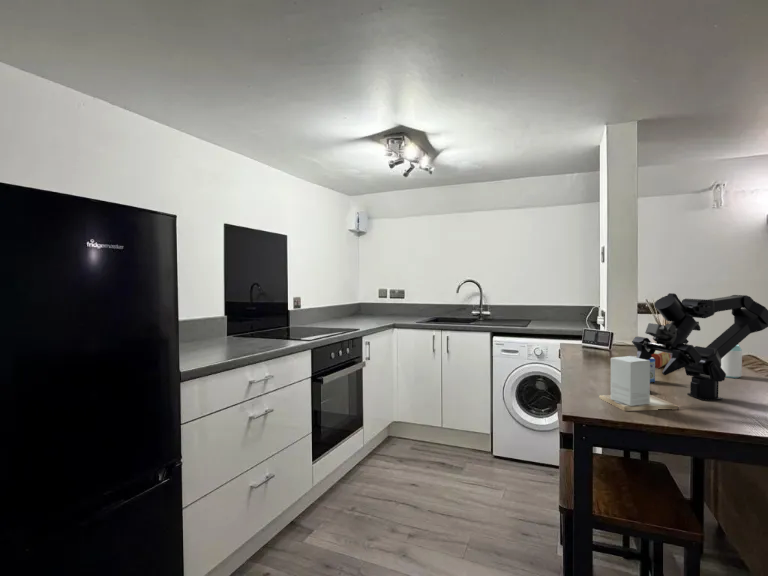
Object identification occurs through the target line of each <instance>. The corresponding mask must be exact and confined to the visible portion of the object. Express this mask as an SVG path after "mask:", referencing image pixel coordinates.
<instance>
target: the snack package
mask: <svg viewBox="0 0 768 576" xmlns="http://www.w3.org/2000/svg"><path fill="white" fill-rule="evenodd" d="M651 356H652V357H653V358H654V359H655V369H660V368H661V367H663V366H666V365H667V364H668V362H669V361H670V359H671V358H672V354H670V353H665V352H662V351H656V350H655V353H654V354H652V355H651Z"/></svg>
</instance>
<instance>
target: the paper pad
mask: <svg viewBox="0 0 768 576" xmlns="http://www.w3.org/2000/svg"><path fill="white" fill-rule="evenodd" d="M599 398H600V399H599ZM598 399H599V400H601V399H602V401H603V400H604V401H603V402H605V401H606V402H605V403H607V402H608V403H607V404H609V403H610V405H611V404H612V406H613V407H616V408H617V409H620V410H622V411H623V412H630V411H633V412H634V411H659V410H658V409H672V410H678V408H679V407H678V406H679V405H676V404H674V403H672V402H670V401H667V400H664V399H662V398H659V397H657V396H654V395H651V394H650V403H649V404H643V405H634V406H630V405H627V404H624V403H621V402H618V401H615V400H612V399H611V394H600V395H599V397H598Z"/></svg>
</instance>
